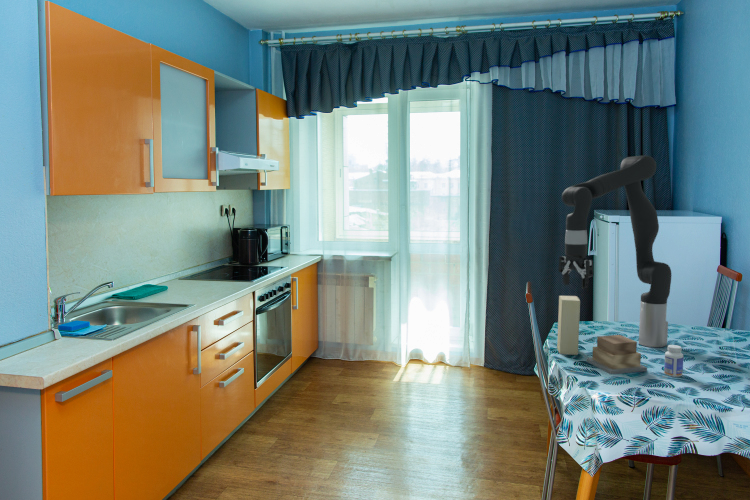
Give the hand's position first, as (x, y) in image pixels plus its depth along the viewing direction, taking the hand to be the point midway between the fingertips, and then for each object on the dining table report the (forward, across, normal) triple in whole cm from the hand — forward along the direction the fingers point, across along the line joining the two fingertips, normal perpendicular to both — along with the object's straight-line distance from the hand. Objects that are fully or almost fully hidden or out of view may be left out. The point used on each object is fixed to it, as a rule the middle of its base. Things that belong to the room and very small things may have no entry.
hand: (575, 286), depth 194 cm
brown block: (+26, -14, -5) cm, 30 cm away
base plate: (+27, -14, -5) cm, 31 cm away
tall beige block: (+27, +6, -3) cm, 28 cm away
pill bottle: (+27, -29, -15) cm, 42 cm away
